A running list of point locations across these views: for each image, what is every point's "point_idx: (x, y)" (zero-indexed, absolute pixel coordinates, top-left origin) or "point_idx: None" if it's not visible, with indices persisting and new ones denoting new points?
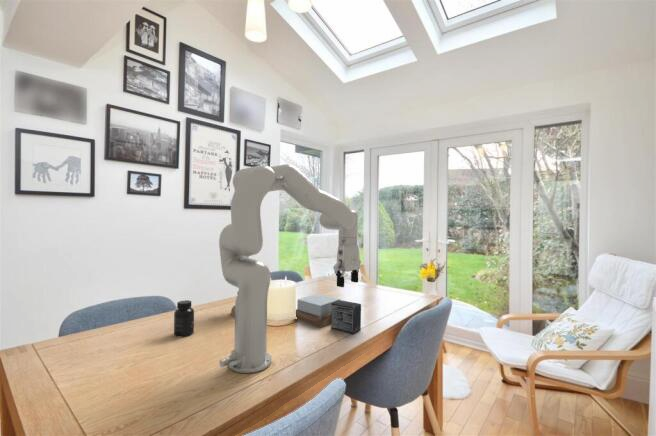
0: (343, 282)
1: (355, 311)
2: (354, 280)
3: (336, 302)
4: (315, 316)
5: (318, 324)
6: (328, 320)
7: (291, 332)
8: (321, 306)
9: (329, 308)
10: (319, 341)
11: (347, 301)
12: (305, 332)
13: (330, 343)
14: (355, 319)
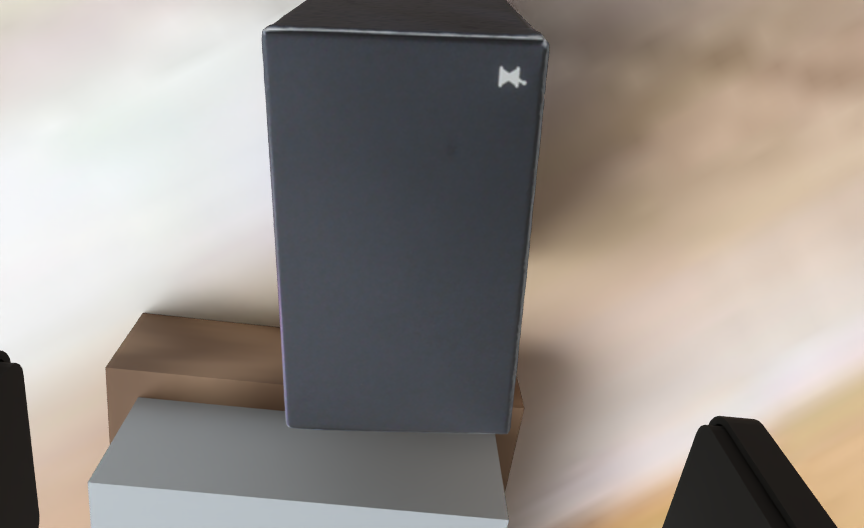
0: (823, 509)
1: (496, 22)
2: (2, 466)
3: (461, 390)
4: (509, 471)
5: None
6: None
7: None
8: (490, 509)
9: (331, 452)
10: (817, 202)
11: (285, 293)
12: (678, 397)
13: (824, 92)
14: (485, 5)
